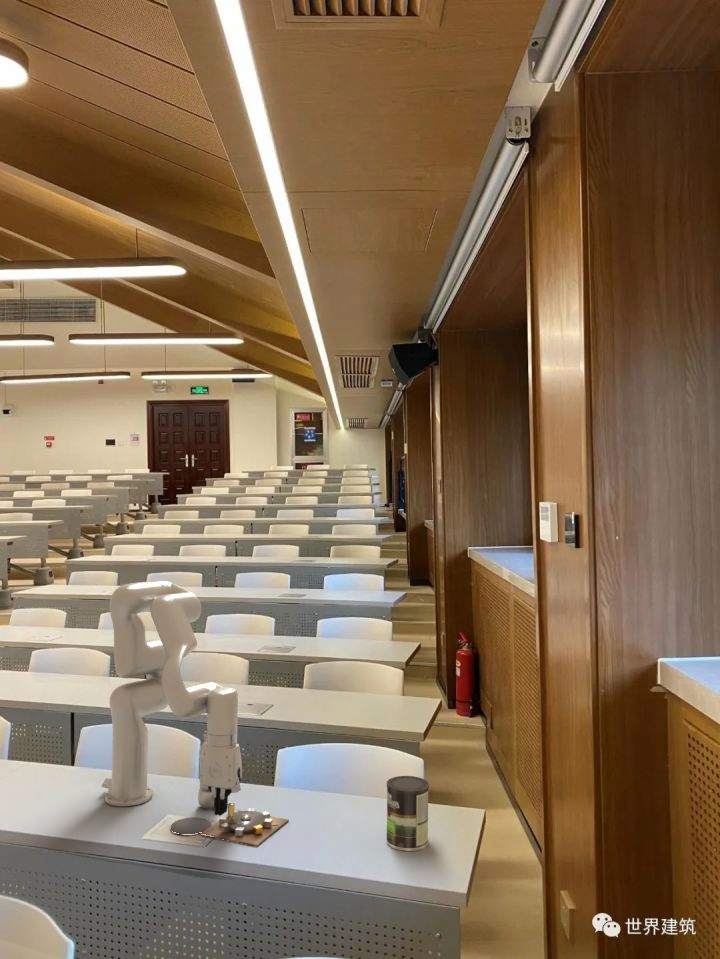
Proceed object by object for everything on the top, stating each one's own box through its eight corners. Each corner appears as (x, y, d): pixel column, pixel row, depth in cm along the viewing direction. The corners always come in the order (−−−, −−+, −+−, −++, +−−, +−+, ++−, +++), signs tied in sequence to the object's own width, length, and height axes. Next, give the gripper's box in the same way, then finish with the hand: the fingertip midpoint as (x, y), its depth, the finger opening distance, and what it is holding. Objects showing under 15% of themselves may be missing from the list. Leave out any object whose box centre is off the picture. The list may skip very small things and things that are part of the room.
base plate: (200, 835, 181) (200, 832, 181) (235, 811, 196) (235, 808, 196) (257, 847, 175) (257, 844, 175) (288, 821, 190) (288, 818, 190)
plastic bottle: (217, 812, 195) (218, 736, 196) (193, 810, 197) (194, 734, 198) (226, 803, 202) (227, 729, 203) (203, 801, 203) (204, 727, 204)
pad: (162, 831, 183) (162, 829, 183) (186, 816, 193) (186, 814, 193) (195, 838, 180) (195, 836, 180) (218, 823, 189) (218, 821, 189)
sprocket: (208, 831, 182) (209, 805, 182) (236, 811, 194) (236, 787, 195) (256, 840, 177) (256, 813, 178) (281, 819, 190) (281, 794, 190)
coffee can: (396, 854, 172) (396, 793, 173) (379, 836, 182) (380, 778, 182) (436, 847, 176) (436, 787, 176) (417, 830, 185) (417, 773, 186)
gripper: (188, 739, 185) (186, 813, 184) (239, 746, 179) (238, 824, 178) (205, 731, 191) (204, 803, 191) (255, 738, 186) (254, 812, 185)
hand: (220, 813), depth 184 cm, fingers closed
